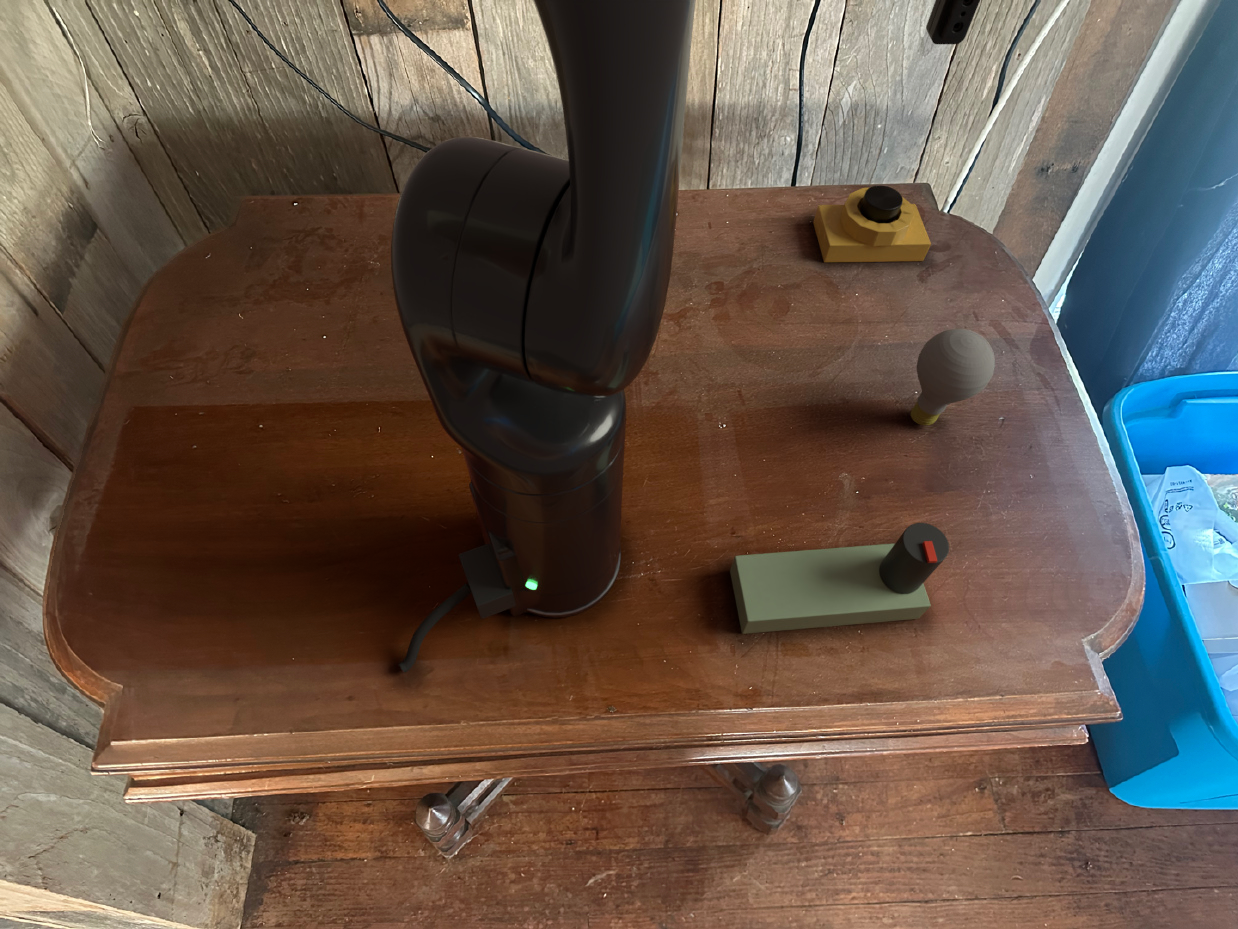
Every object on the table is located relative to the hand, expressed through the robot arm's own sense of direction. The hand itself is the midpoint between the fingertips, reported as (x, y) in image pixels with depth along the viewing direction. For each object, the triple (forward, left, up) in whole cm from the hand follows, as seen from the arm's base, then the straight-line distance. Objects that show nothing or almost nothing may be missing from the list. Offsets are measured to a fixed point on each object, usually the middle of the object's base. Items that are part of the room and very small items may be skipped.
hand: (943, 38), depth 50 cm
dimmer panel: (-17, -24, -25) cm, 39 cm away
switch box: (+8, +7, -25) cm, 27 cm away
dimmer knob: (-12, -26, -22) cm, 36 cm away
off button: (+7, +7, -21) cm, 24 cm away
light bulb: (-1, -14, -25) cm, 29 cm away
